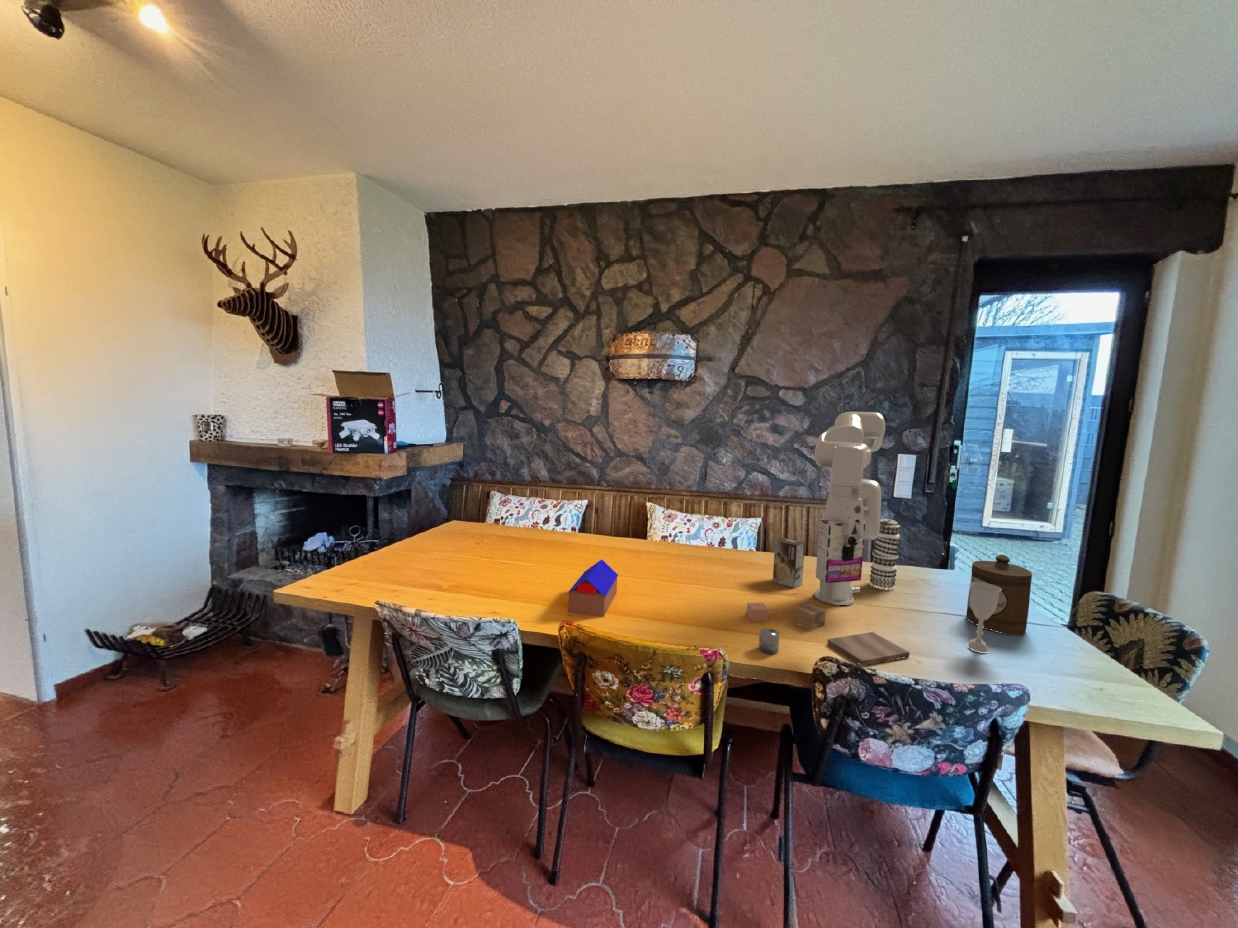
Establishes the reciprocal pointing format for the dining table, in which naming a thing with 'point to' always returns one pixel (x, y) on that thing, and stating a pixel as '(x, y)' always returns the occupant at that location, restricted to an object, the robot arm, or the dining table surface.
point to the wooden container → (1004, 594)
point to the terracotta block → (757, 612)
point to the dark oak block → (810, 616)
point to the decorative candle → (885, 554)
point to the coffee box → (788, 562)
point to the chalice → (982, 609)
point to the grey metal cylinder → (769, 641)
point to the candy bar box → (836, 555)
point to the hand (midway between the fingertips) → (839, 556)
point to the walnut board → (867, 648)
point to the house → (593, 590)
